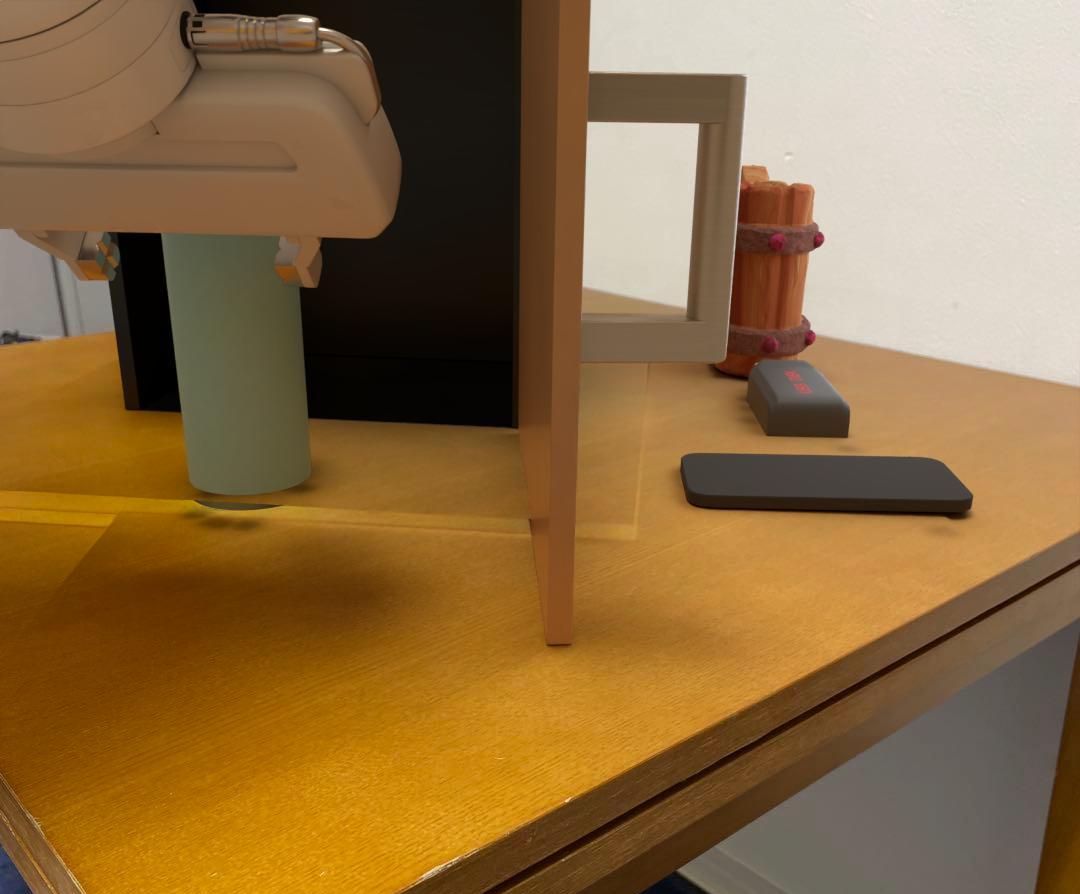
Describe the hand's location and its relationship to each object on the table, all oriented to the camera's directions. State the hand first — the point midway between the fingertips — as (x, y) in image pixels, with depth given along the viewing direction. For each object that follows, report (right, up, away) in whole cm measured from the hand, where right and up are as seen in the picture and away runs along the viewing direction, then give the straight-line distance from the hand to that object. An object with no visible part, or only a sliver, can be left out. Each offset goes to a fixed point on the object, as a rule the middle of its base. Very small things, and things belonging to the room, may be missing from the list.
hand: (202, 271), depth 49 cm
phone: (+31, -9, +12) cm, 34 cm away
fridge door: (+18, -11, +6) cm, 22 cm away
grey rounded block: (+32, -3, +26) cm, 42 cm away
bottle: (0, -9, +10) cm, 14 cm away
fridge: (+3, -2, +28) cm, 28 cm away
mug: (+32, +2, +39) cm, 51 cm away
